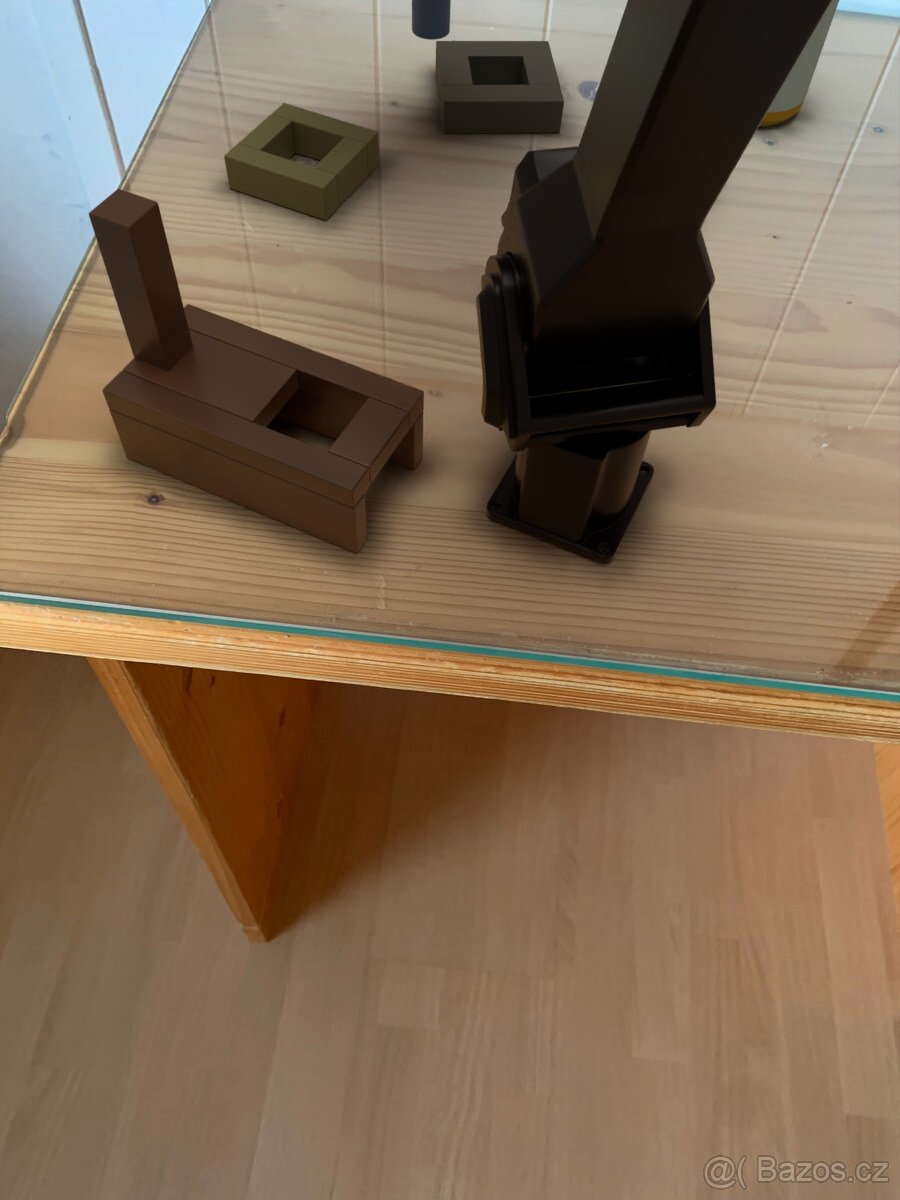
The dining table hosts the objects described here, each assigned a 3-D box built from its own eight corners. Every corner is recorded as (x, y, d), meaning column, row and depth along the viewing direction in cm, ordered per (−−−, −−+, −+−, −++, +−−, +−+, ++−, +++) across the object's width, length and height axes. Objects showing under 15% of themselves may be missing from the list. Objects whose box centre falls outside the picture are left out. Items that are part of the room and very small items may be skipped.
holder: (560, 133, 64) (564, 100, 62) (443, 133, 63) (444, 101, 61) (544, 72, 68) (548, 40, 66) (435, 72, 68) (436, 40, 66)
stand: (357, 554, 43) (341, 353, 33) (125, 457, 46) (47, 245, 36) (423, 457, 47) (426, 249, 37) (204, 372, 50) (152, 158, 40)
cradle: (326, 221, 57) (323, 188, 56) (229, 188, 59) (223, 155, 57) (380, 164, 61) (379, 131, 59) (287, 134, 62) (283, 102, 61)
